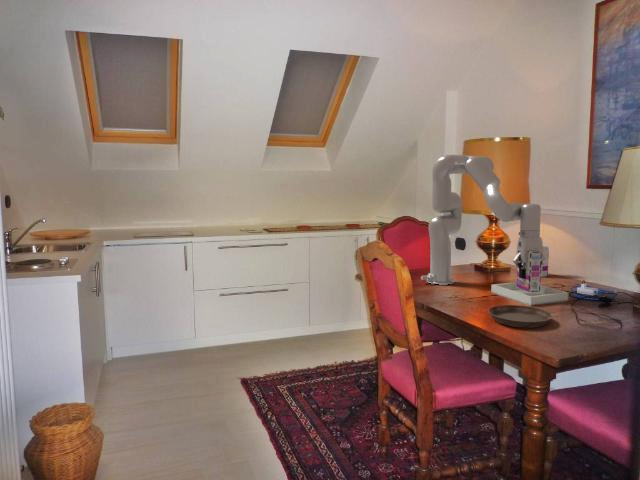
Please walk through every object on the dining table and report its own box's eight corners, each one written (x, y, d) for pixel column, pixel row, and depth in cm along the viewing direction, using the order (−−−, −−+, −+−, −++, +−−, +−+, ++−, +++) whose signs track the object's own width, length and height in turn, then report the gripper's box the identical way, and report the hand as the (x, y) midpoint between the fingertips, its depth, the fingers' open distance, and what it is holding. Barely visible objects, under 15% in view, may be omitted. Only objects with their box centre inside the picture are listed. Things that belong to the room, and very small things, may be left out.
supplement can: (544, 274, 255) (545, 244, 253) (550, 277, 247) (551, 246, 245) (527, 274, 256) (528, 244, 254) (532, 277, 248) (533, 246, 246)
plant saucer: (553, 317, 182) (554, 308, 182) (549, 333, 164) (549, 323, 164) (493, 310, 192) (493, 302, 192) (483, 325, 174) (483, 316, 174)
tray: (530, 306, 197) (531, 297, 196) (491, 292, 219) (491, 284, 219) (567, 301, 202) (568, 292, 202) (525, 288, 225) (525, 280, 224)
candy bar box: (541, 291, 205) (542, 251, 203) (529, 292, 205) (530, 252, 202) (527, 285, 216) (528, 247, 214) (516, 286, 216) (517, 248, 214)
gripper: (518, 236, 201) (517, 281, 204) (553, 233, 207) (552, 277, 209) (506, 234, 208) (505, 277, 211) (540, 231, 214) (538, 274, 216)
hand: (528, 277), depth 210 cm, fingers closed on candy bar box, 5 cm apart
